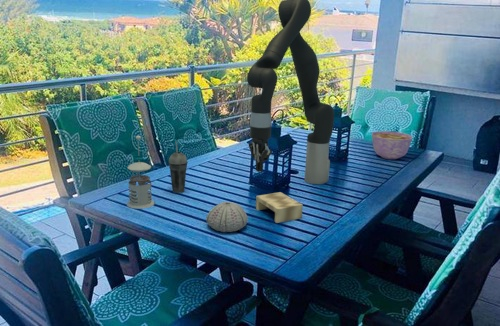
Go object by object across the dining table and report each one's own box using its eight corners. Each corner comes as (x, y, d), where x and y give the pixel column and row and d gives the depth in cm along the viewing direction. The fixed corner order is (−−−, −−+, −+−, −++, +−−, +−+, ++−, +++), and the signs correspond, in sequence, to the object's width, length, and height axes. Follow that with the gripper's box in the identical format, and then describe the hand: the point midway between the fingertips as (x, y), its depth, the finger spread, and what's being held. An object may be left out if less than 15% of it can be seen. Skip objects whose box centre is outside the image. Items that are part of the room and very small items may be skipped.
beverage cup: (191, 189, 187) (190, 140, 181) (182, 195, 180) (182, 144, 174) (174, 187, 189) (173, 138, 183) (165, 192, 182) (164, 142, 177)
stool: (280, 191, 172) (302, 204, 161) (279, 204, 174) (301, 218, 162) (256, 195, 168) (277, 209, 156) (255, 209, 169) (277, 223, 157)
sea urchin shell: (214, 237, 145) (214, 213, 143) (200, 221, 157) (200, 198, 155) (254, 231, 150) (255, 207, 148) (238, 216, 162) (238, 194, 160)
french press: (130, 210, 164) (127, 139, 157) (122, 199, 174) (119, 132, 167) (158, 206, 169) (156, 137, 162) (148, 195, 178) (146, 130, 172)
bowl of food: (367, 151, 254) (369, 130, 251) (406, 153, 251) (408, 132, 248) (371, 161, 235) (373, 138, 232) (413, 163, 232) (416, 140, 229)
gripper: (279, 127, 166) (277, 174, 171) (259, 120, 177) (258, 165, 182) (261, 129, 162) (259, 177, 167) (242, 122, 173) (241, 167, 178)
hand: (259, 170), depth 174 cm, fingers closed
